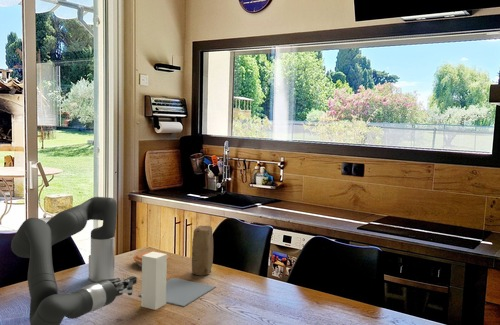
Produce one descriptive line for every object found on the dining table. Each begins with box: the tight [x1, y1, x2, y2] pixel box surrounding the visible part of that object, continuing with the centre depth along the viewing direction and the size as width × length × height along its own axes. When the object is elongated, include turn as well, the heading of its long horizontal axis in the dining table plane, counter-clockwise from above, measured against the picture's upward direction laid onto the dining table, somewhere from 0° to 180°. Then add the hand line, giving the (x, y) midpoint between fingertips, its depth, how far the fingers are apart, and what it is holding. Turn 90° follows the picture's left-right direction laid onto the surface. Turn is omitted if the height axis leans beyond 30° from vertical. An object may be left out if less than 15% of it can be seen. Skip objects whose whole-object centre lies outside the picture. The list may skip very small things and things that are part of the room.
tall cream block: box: [140, 251, 168, 311], centre depth 159 cm, size 6×6×18 cm
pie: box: [133, 250, 170, 269], centre depth 205 cm, size 16×16×5 cm
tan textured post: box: [191, 225, 214, 276], centre depth 196 cm, size 11×8×20 cm
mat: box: [137, 277, 217, 308], centre depth 173 cm, size 20×22×1 cm
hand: (134, 279), depth 150 cm, fingers closed
